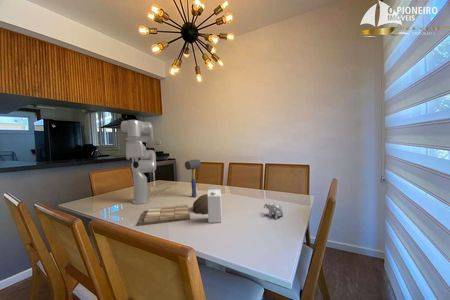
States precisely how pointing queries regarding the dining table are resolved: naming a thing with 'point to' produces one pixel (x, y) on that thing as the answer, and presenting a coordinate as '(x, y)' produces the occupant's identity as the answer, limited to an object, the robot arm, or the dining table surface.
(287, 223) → the dining table surface
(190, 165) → the rubber mallet
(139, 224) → the floor board
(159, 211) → the loose plank
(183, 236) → the dining table surface
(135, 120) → the robot arm
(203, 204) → the decorative dome
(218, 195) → the milk carton
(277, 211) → the elephant statuette
